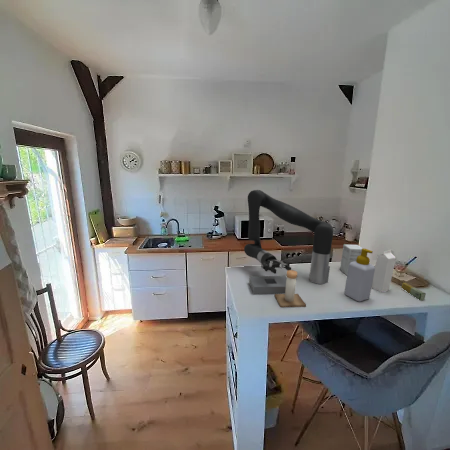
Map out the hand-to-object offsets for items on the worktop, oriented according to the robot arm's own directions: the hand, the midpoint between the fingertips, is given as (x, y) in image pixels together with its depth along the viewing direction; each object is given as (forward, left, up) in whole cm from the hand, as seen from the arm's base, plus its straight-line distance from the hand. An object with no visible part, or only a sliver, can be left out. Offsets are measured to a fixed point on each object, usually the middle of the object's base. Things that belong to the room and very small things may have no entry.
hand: (283, 270), depth 123 cm
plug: (-2, +7, -11) cm, 14 cm away
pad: (-2, +7, -12) cm, 14 cm away
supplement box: (-52, -24, -13) cm, 59 cm away
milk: (-56, -3, -13) cm, 57 cm away
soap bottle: (-38, +4, -13) cm, 40 cm away
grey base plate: (+4, -6, -12) cm, 14 cm away
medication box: (-69, +3, -13) cm, 71 cm away
